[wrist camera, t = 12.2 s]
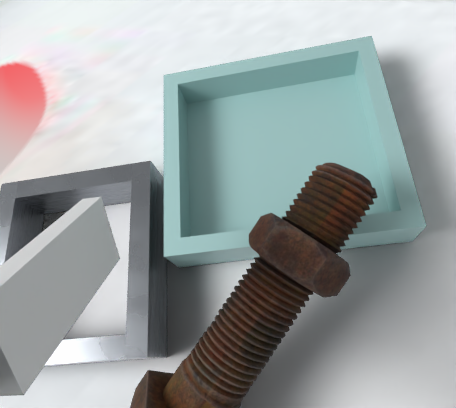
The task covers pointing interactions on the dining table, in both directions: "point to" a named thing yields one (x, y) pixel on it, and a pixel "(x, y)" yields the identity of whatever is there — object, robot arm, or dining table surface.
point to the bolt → (268, 293)
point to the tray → (279, 148)
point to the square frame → (138, 251)
